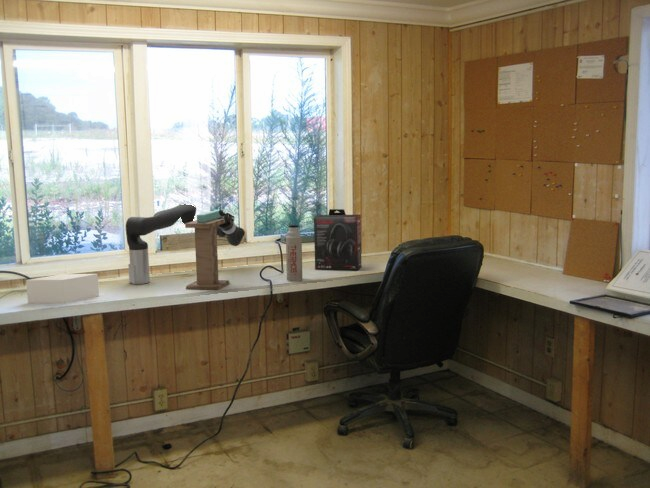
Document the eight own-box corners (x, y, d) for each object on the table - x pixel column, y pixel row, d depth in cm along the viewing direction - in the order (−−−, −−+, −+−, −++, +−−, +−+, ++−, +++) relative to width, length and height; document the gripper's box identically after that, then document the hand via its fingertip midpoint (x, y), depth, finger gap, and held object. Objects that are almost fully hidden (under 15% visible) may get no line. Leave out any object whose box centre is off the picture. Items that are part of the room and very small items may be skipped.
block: (100, 299, 296) (99, 276, 294) (28, 307, 284) (26, 283, 282) (97, 293, 310) (96, 271, 308) (28, 300, 297) (26, 277, 296)
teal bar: (216, 216, 336) (216, 209, 335) (223, 216, 335) (223, 209, 335) (197, 222, 311) (196, 215, 310) (203, 222, 310) (203, 215, 309)
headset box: (314, 269, 360) (313, 210, 355) (319, 265, 372) (318, 207, 367) (358, 271, 354) (357, 210, 349) (361, 266, 367) (361, 208, 362)
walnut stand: (200, 281, 332) (197, 218, 327) (230, 282, 329) (228, 219, 324) (184, 290, 313) (181, 223, 308) (216, 291, 310) (213, 223, 305)
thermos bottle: (298, 281, 328) (297, 226, 324) (284, 280, 331) (282, 225, 327) (305, 278, 335) (303, 224, 331) (290, 277, 338) (289, 224, 334)
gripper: (238, 231, 343) (228, 218, 327) (213, 231, 346) (201, 217, 330) (240, 218, 345) (230, 204, 330) (215, 218, 348) (203, 204, 332)
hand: (216, 211), depth 330 cm, fingers closed on teal bar, 3 cm apart
